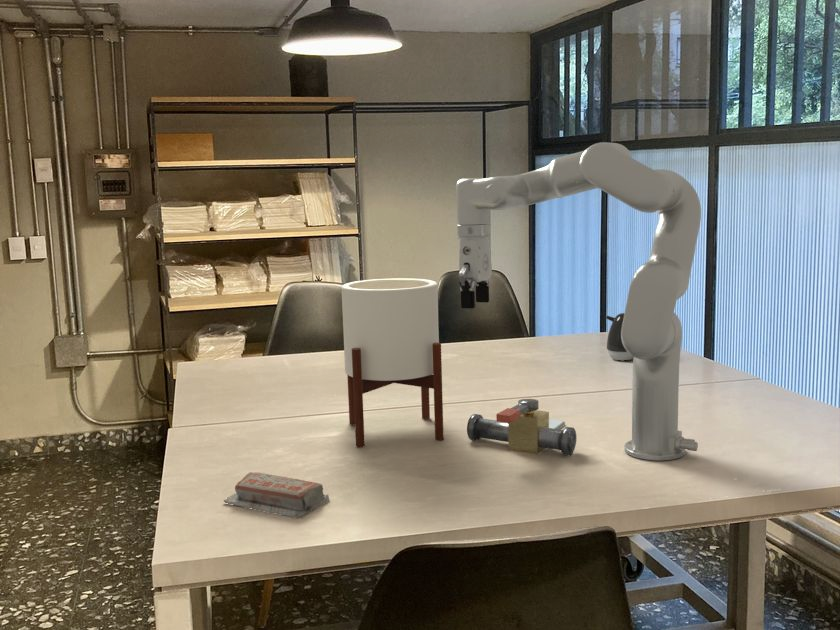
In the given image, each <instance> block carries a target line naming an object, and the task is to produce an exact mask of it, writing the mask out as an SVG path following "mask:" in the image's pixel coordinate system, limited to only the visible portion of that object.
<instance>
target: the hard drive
mask: <svg viewBox="0 0 840 630" xmlns="http://www.w3.org/2000/svg"><path fill="white" fill-rule="evenodd" d="M565 425H566V422H565V421H564V420H559V419H553V418H552V419H551V418H549V428H553V429H560V430H561V429H562V428H563V427H565Z"/></svg>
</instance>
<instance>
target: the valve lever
mask: <svg viewBox="0 0 840 630" xmlns="http://www.w3.org/2000/svg"><path fill="white" fill-rule="evenodd" d="M517 402H518V404H516V405H514V406H512V407H511V408H508V407H507V408H505V409H503V410H501V411H499V412H498V413H496V417H495V418H496V420H497V422H504V423H511V422H513V421H514V420H516V419H518V418H520V417H521V415H522V414H524V413H526V412H527V411H535V410H538V411H539V410H540V409H539V400H538V399H534V398H522V399H519V400H518V401H517Z"/></svg>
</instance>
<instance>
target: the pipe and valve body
mask: <svg viewBox="0 0 840 630" xmlns="http://www.w3.org/2000/svg"><path fill="white" fill-rule="evenodd" d="M549 413H550V412H549V411H544V410H539V409H538V410H535V411H527V412H526V413H524V414H522V415H521V417H520V418H518V419H516V420H514V421H513V422H511V423H504V422H497V419H496V420H494V419H488V418H483V415H481V414H480V413H479V414H478V413H473V414H472V415H470V416H469V419H468V421H467V427H466V434H467V438H468V439H469V440H471V441H476V442H477V441H479V440H480V439H484V440H485V439H487V440H492V441H499V442H505V443H508V451H516V452H520V453H521V452H522V453H526V454H534V455H539V454H540V453H542V452H544V451H545V450H546V449H551V450H558V451H561V454H562V455H563V456H572V455H573V453H574V452H575V449H576V447H577V446H576V445H577V431H576V428H574V427H572V426H564V428H563V429H561V428H560V429H553V428H549V419H550V414H549Z"/></svg>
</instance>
